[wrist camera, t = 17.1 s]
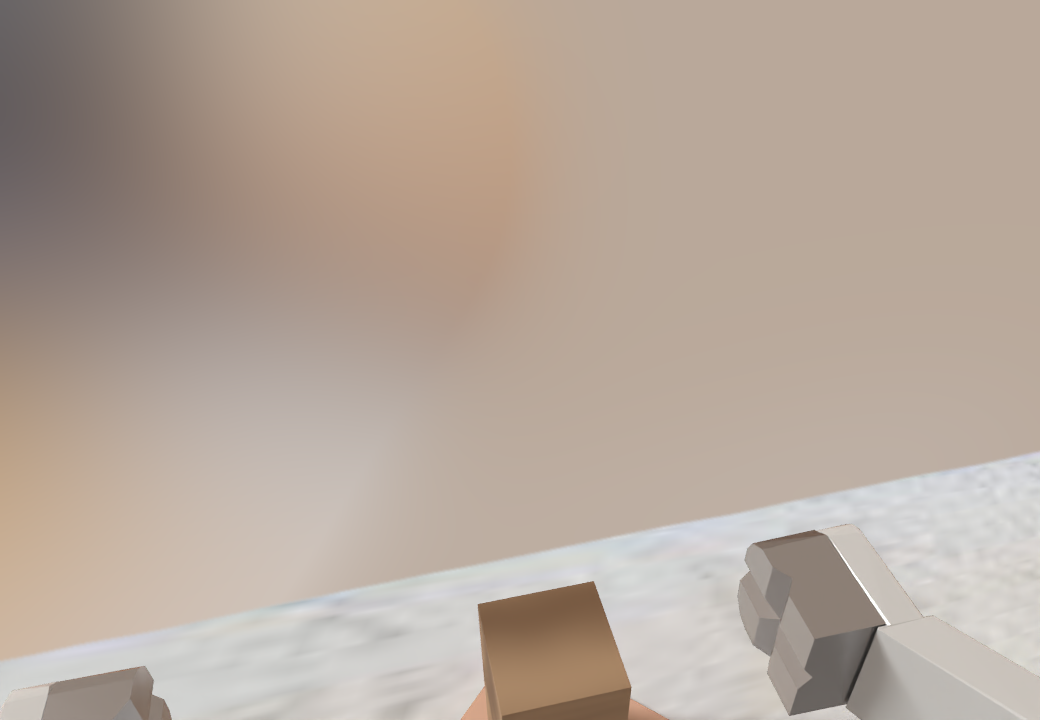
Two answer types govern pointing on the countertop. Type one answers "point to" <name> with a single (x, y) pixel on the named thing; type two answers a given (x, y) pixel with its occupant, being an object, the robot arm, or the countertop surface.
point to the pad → (637, 716)
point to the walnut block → (552, 658)
